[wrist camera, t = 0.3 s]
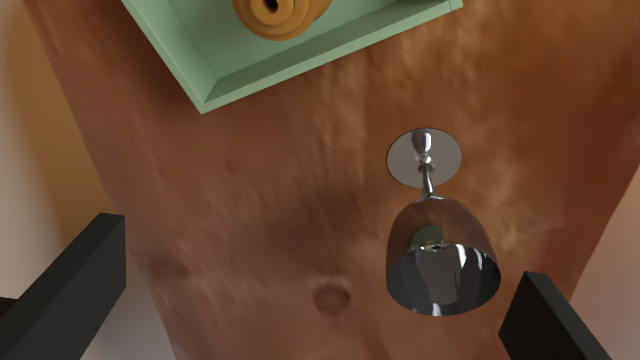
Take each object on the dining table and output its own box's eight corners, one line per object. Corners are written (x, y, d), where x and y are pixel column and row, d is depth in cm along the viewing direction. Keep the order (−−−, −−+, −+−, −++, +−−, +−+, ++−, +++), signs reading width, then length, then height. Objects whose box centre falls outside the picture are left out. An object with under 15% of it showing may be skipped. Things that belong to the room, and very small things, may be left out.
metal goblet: (366, 164, 45) (363, 285, 33) (421, 108, 40) (440, 225, 28) (426, 202, 47) (443, 328, 35) (484, 153, 42) (526, 279, 31)
